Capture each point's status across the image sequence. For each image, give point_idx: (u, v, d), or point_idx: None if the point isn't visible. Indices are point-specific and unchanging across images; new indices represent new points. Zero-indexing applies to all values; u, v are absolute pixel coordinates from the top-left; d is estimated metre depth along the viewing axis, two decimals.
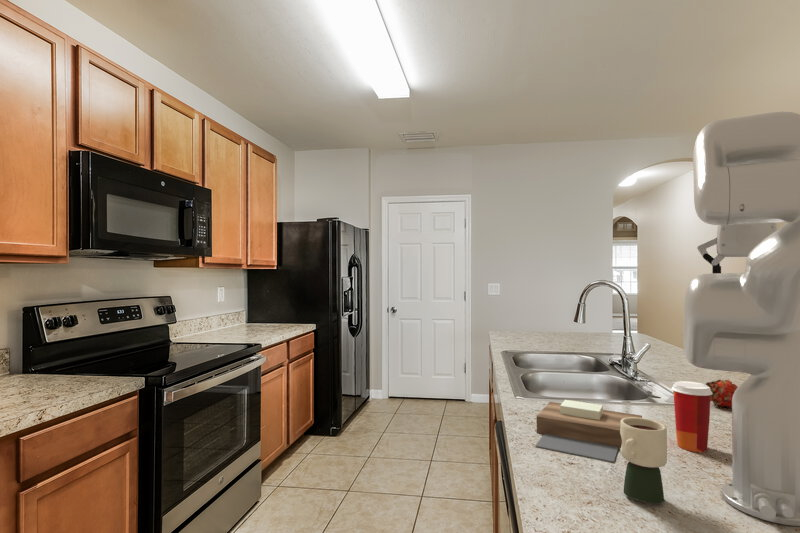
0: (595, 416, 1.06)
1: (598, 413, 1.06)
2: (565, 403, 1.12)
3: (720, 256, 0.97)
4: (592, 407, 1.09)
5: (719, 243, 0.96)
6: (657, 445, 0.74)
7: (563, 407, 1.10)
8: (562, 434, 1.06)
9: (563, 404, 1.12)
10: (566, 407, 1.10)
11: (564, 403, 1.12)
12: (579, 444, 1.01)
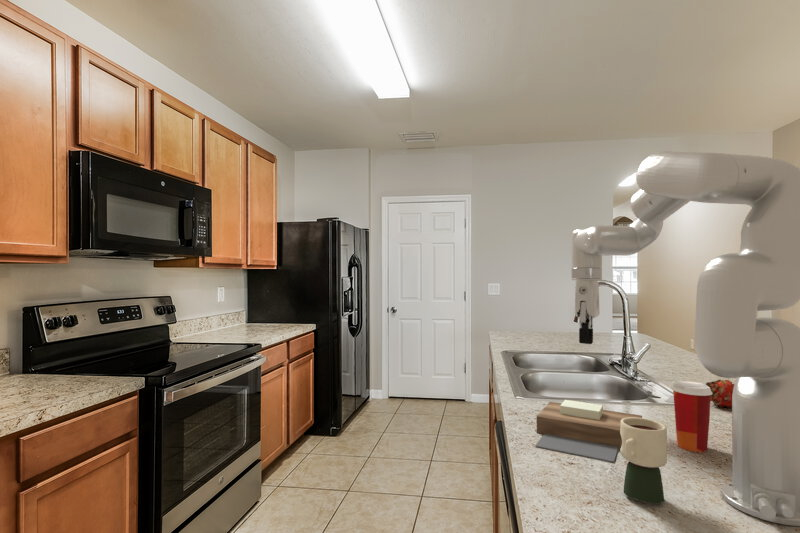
0: (595, 416, 1.06)
1: (598, 413, 1.06)
2: (565, 403, 1.12)
3: (590, 320, 1.17)
4: (592, 407, 1.09)
5: (593, 308, 1.14)
6: (657, 445, 0.74)
7: (563, 407, 1.10)
8: (562, 434, 1.06)
9: (563, 404, 1.12)
10: (566, 407, 1.10)
11: (564, 403, 1.12)
12: (579, 444, 1.01)
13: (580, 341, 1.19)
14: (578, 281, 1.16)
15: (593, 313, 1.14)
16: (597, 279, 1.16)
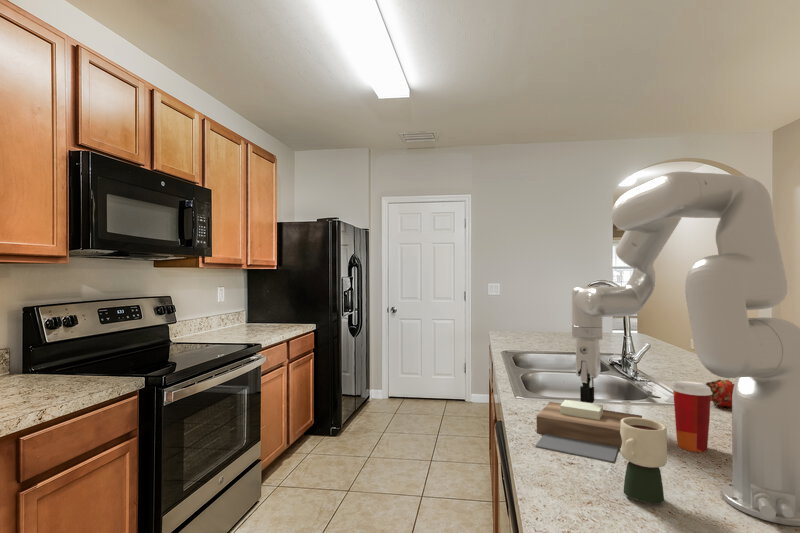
0: (595, 416, 1.06)
1: (598, 413, 1.06)
2: (565, 403, 1.12)
3: (591, 379, 1.17)
4: (592, 407, 1.09)
5: (594, 368, 1.13)
6: (657, 445, 0.74)
7: (563, 407, 1.10)
8: (562, 434, 1.06)
9: (563, 404, 1.12)
10: (566, 407, 1.10)
11: (564, 403, 1.12)
12: (579, 444, 1.01)
13: (581, 399, 1.19)
14: (579, 340, 1.16)
15: (594, 374, 1.13)
16: (598, 338, 1.15)
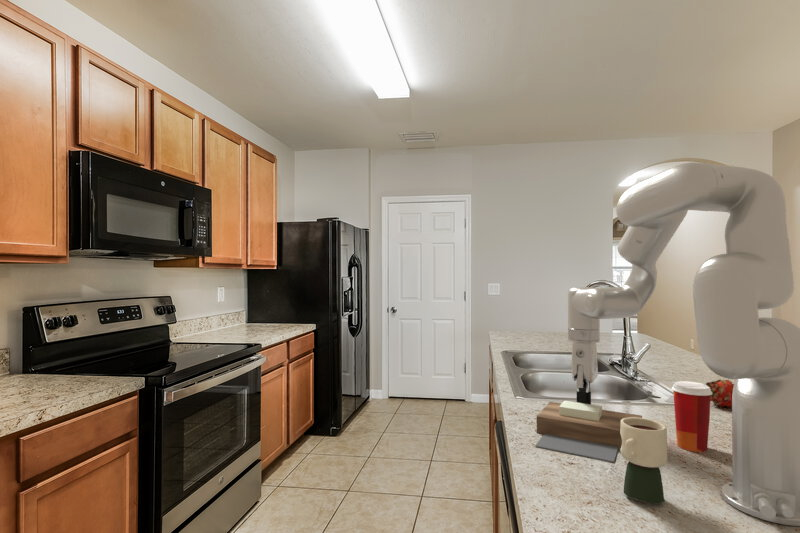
0: (594, 418, 1.06)
1: (597, 414, 1.05)
2: (564, 404, 1.11)
3: (588, 384, 1.12)
4: (591, 408, 1.08)
5: (590, 372, 1.09)
6: (657, 445, 0.74)
7: (562, 408, 1.09)
8: (562, 434, 1.06)
9: (562, 405, 1.11)
10: (565, 407, 1.09)
11: (563, 404, 1.12)
12: (579, 444, 1.01)
13: None
14: (575, 343, 1.11)
15: (591, 378, 1.09)
16: (594, 341, 1.11)
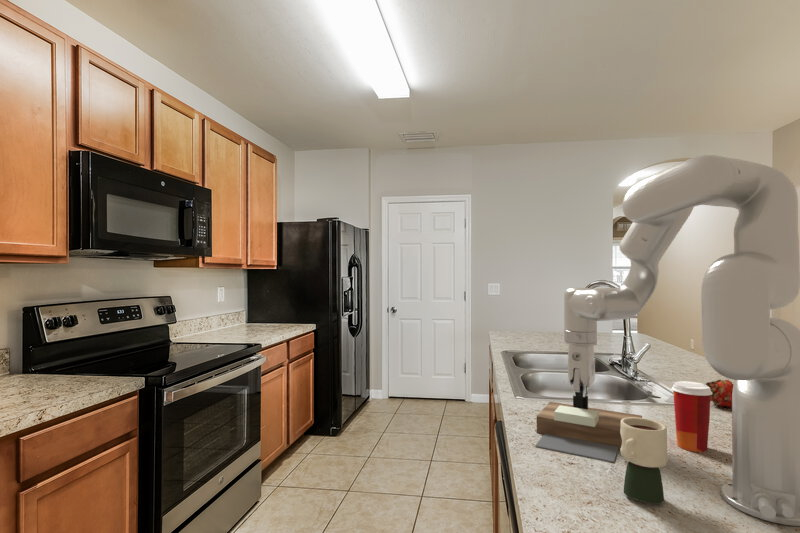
0: (590, 423, 1.02)
1: (594, 420, 1.01)
2: (560, 409, 1.08)
3: (585, 388, 1.08)
4: (587, 413, 1.04)
5: (587, 376, 1.05)
6: (657, 445, 0.74)
7: (557, 413, 1.06)
8: (562, 434, 1.06)
9: (557, 410, 1.07)
10: (561, 413, 1.05)
11: (558, 409, 1.08)
12: (579, 444, 1.01)
13: None
14: (571, 346, 1.07)
15: (587, 382, 1.05)
16: (592, 344, 1.07)
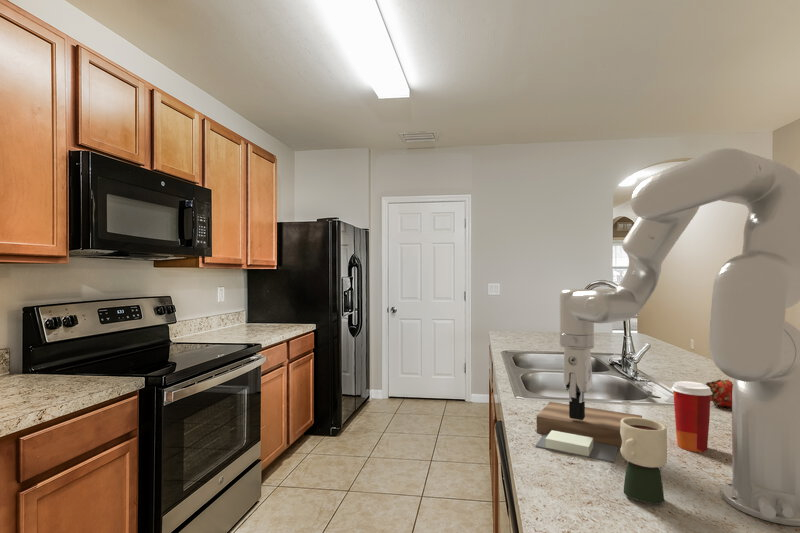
0: None
1: None
2: None
3: (581, 394, 1.03)
4: None
5: (584, 381, 1.00)
6: (657, 445, 0.74)
7: None
8: None
9: None
10: None
11: None
12: None
13: (570, 416, 1.05)
14: (567, 350, 1.03)
15: (584, 387, 1.00)
16: (588, 348, 1.02)
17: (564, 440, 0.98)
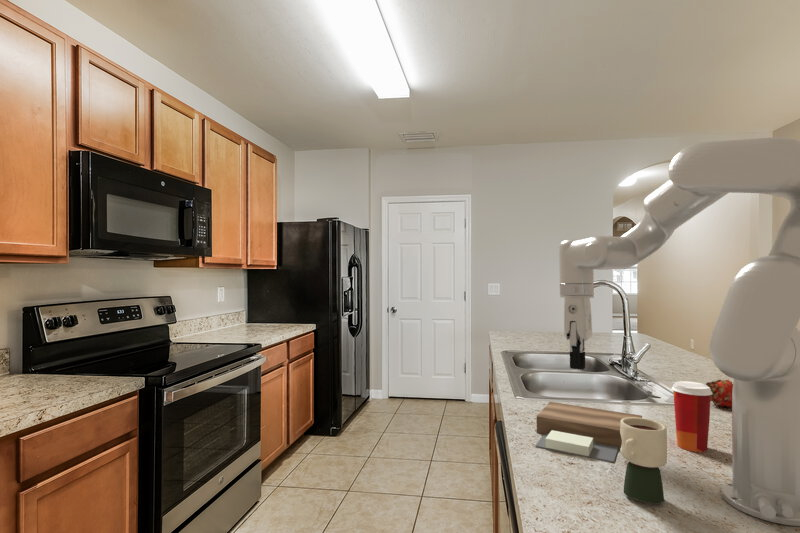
0: None
1: None
2: None
3: (582, 343, 1.04)
4: None
5: (584, 329, 1.00)
6: (657, 445, 0.74)
7: None
8: None
9: None
10: None
11: None
12: None
13: (571, 366, 1.06)
14: (567, 299, 1.03)
15: (584, 335, 1.00)
16: (588, 296, 1.02)
17: (564, 440, 0.98)
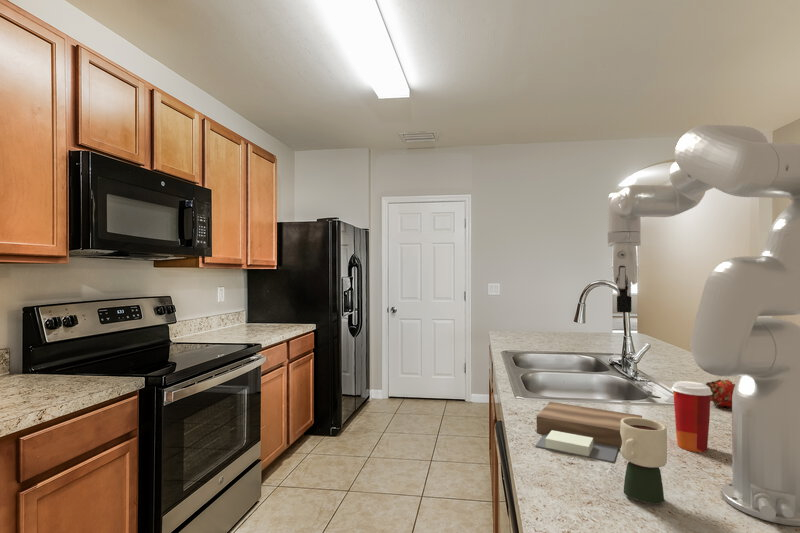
0: None
1: None
2: None
3: (629, 287, 1.11)
4: None
5: (633, 273, 1.08)
6: (657, 445, 0.74)
7: None
8: None
9: None
10: None
11: None
12: None
13: (618, 310, 1.13)
14: (616, 246, 1.10)
15: (633, 278, 1.08)
16: (636, 243, 1.10)
17: (564, 440, 0.98)
